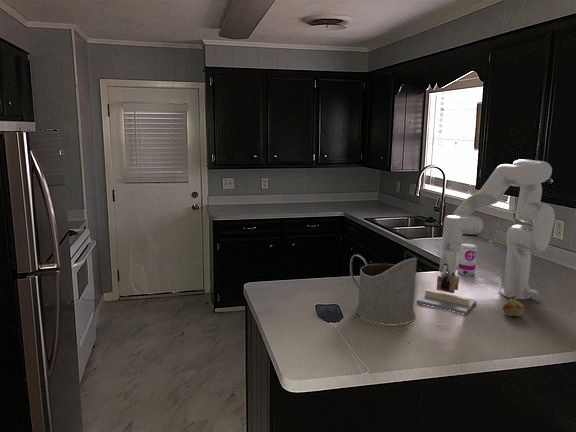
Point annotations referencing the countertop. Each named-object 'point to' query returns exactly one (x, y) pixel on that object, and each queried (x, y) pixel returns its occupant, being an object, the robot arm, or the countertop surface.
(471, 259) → the supplement can
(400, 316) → the pitcher
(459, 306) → the cleat board
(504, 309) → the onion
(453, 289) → the saddle block
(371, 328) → the countertop surface
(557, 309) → the countertop surface
